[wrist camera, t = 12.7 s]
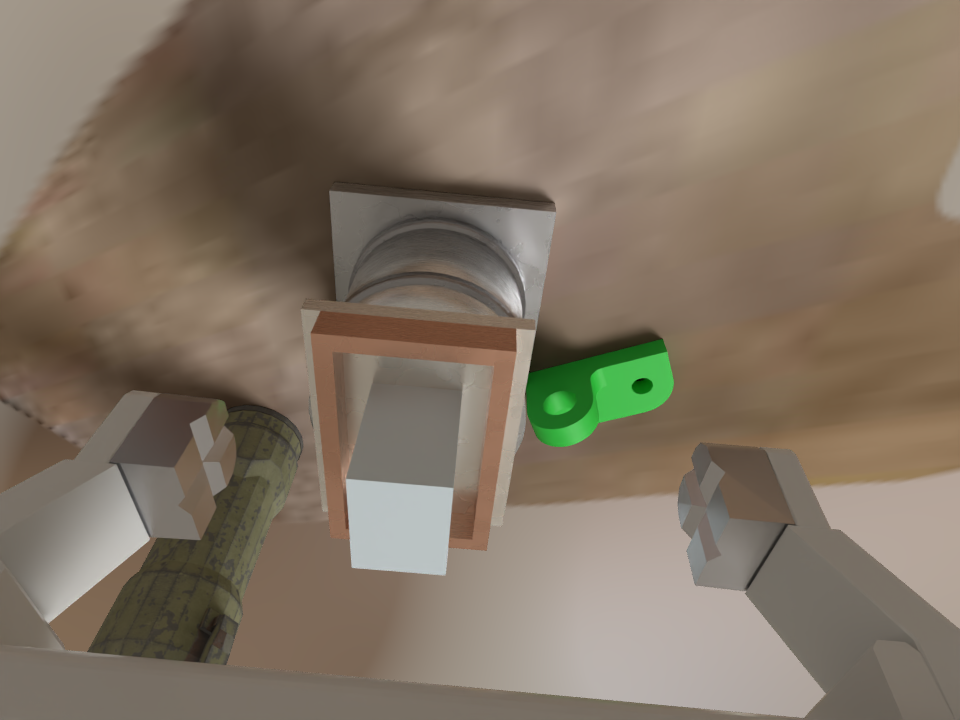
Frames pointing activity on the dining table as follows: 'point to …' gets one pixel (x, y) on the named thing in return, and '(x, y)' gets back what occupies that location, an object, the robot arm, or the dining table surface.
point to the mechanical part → (597, 392)
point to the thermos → (208, 556)
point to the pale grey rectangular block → (403, 479)
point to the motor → (429, 332)
